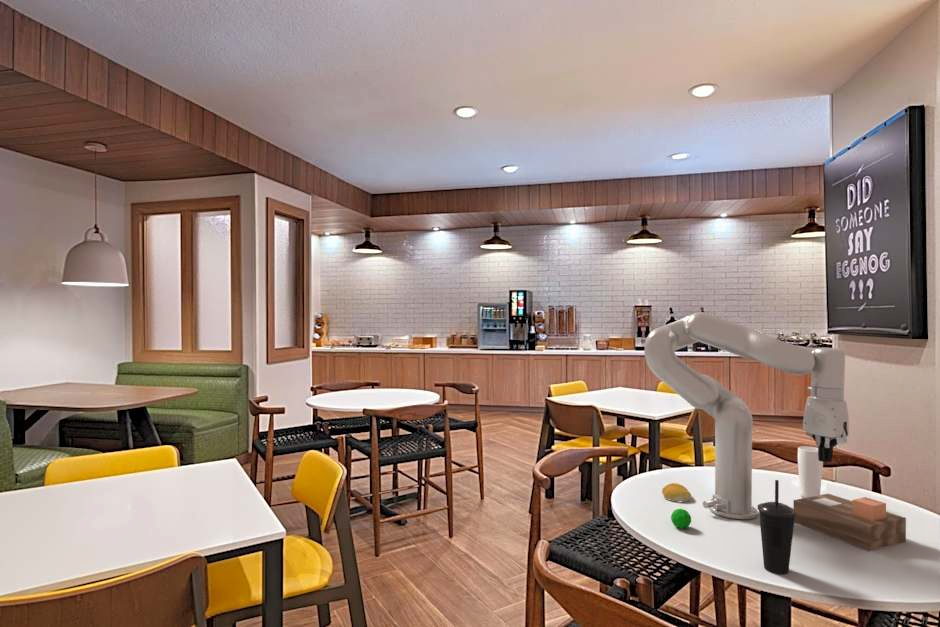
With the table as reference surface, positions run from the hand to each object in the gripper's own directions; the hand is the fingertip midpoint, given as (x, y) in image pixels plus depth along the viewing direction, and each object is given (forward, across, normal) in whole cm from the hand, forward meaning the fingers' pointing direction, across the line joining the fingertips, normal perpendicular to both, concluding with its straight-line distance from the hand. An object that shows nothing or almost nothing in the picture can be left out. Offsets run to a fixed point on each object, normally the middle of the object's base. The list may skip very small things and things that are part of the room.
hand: (825, 461), depth 153 cm
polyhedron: (+18, -13, -37) cm, 43 cm away
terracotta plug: (+11, +12, +1) cm, 16 cm away
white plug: (+15, +1, +1) cm, 15 cm away
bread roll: (+18, -32, -21) cm, 43 cm away
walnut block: (+17, +6, +1) cm, 18 cm away
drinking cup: (+18, +14, -35) cm, 42 cm away
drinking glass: (+17, -16, +17) cm, 29 cm away
